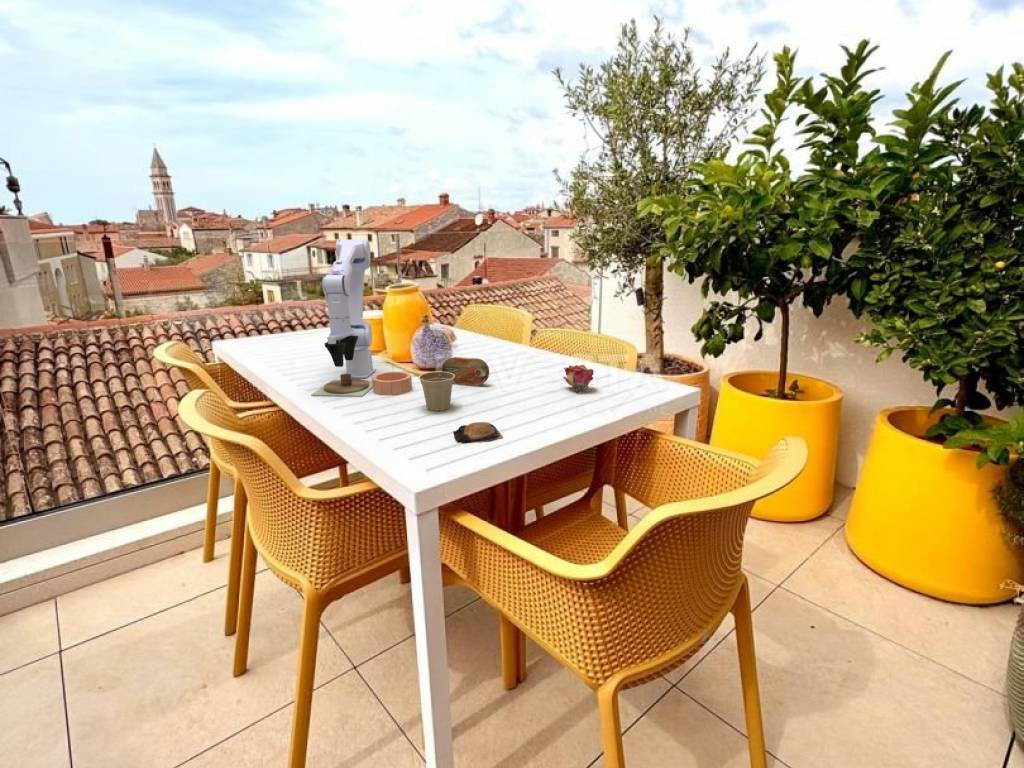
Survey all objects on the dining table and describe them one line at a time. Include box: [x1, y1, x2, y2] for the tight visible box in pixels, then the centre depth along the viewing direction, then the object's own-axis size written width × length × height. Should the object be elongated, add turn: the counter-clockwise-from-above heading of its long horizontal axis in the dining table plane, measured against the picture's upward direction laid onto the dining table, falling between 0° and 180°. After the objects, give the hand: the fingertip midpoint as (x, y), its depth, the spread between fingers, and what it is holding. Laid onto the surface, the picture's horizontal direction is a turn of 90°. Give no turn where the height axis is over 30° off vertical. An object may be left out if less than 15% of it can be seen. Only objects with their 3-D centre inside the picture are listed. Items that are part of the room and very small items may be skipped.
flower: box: [562, 364, 594, 394], centre depth 145 cm, size 10×9×8 cm
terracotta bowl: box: [371, 371, 413, 396], centre depth 147 cm, size 11×11×4 cm
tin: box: [441, 356, 490, 387], centre depth 151 cm, size 15×3×8 cm, turn 71°
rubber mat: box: [310, 379, 373, 398], centre depth 148 cm, size 15×15×1 cm
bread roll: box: [452, 421, 504, 445], centre depth 113 cm, size 11×8×4 cm
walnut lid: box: [323, 373, 369, 394], centre depth 148 cm, size 13×13×4 cm
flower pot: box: [418, 370, 455, 412], centre depth 131 cm, size 9×9×9 cm
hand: (344, 363), depth 146 cm, fingers open, 7 cm apart
